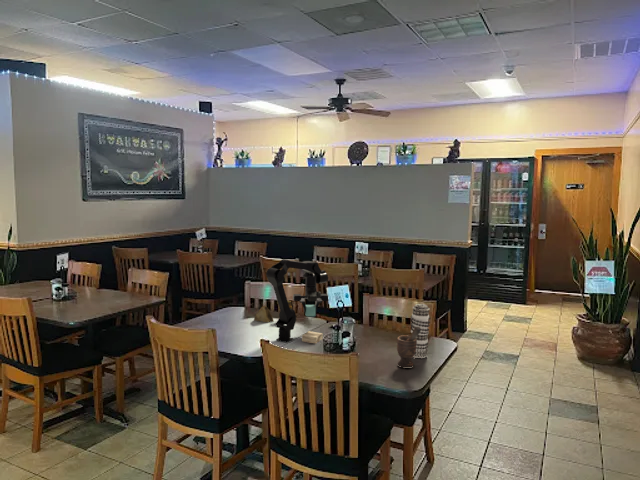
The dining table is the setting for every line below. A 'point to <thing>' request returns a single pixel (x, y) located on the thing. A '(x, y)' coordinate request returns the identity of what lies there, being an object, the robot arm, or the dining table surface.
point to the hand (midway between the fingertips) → (310, 313)
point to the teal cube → (310, 310)
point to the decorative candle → (421, 321)
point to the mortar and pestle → (407, 348)
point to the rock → (263, 315)
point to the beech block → (312, 337)
